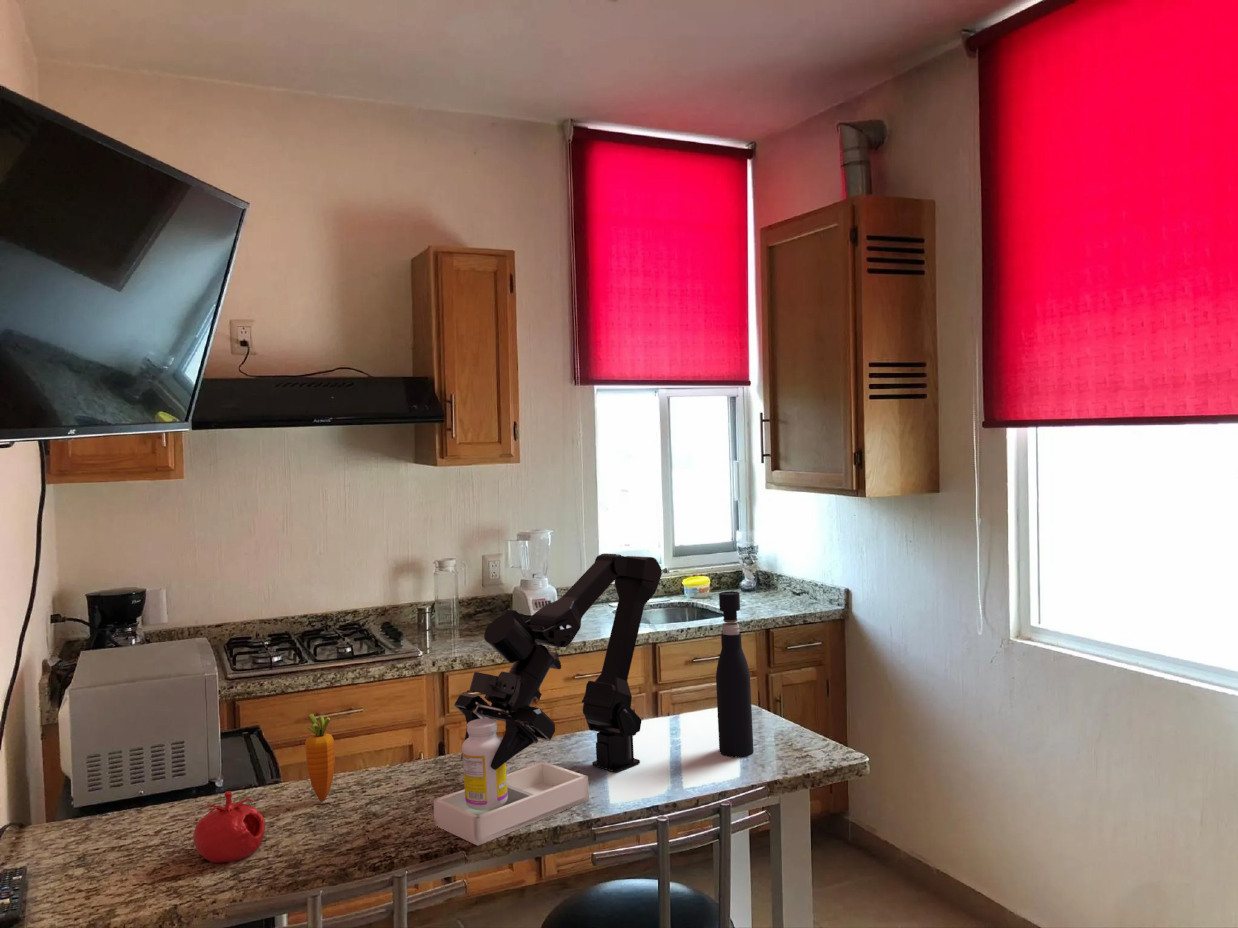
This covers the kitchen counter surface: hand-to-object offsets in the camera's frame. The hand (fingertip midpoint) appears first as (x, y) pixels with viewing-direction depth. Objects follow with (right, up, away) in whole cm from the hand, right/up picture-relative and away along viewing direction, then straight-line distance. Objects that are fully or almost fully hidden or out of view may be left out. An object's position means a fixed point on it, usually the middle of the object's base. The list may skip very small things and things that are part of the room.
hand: (477, 764), depth 142 cm
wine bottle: (+44, -7, +29) cm, 53 cm away
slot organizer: (+5, -9, +5) cm, 12 cm away
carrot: (-29, -11, +14) cm, 34 cm away
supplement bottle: (+1, -7, +1) cm, 7 cm away
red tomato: (-36, -12, -6) cm, 38 cm away
